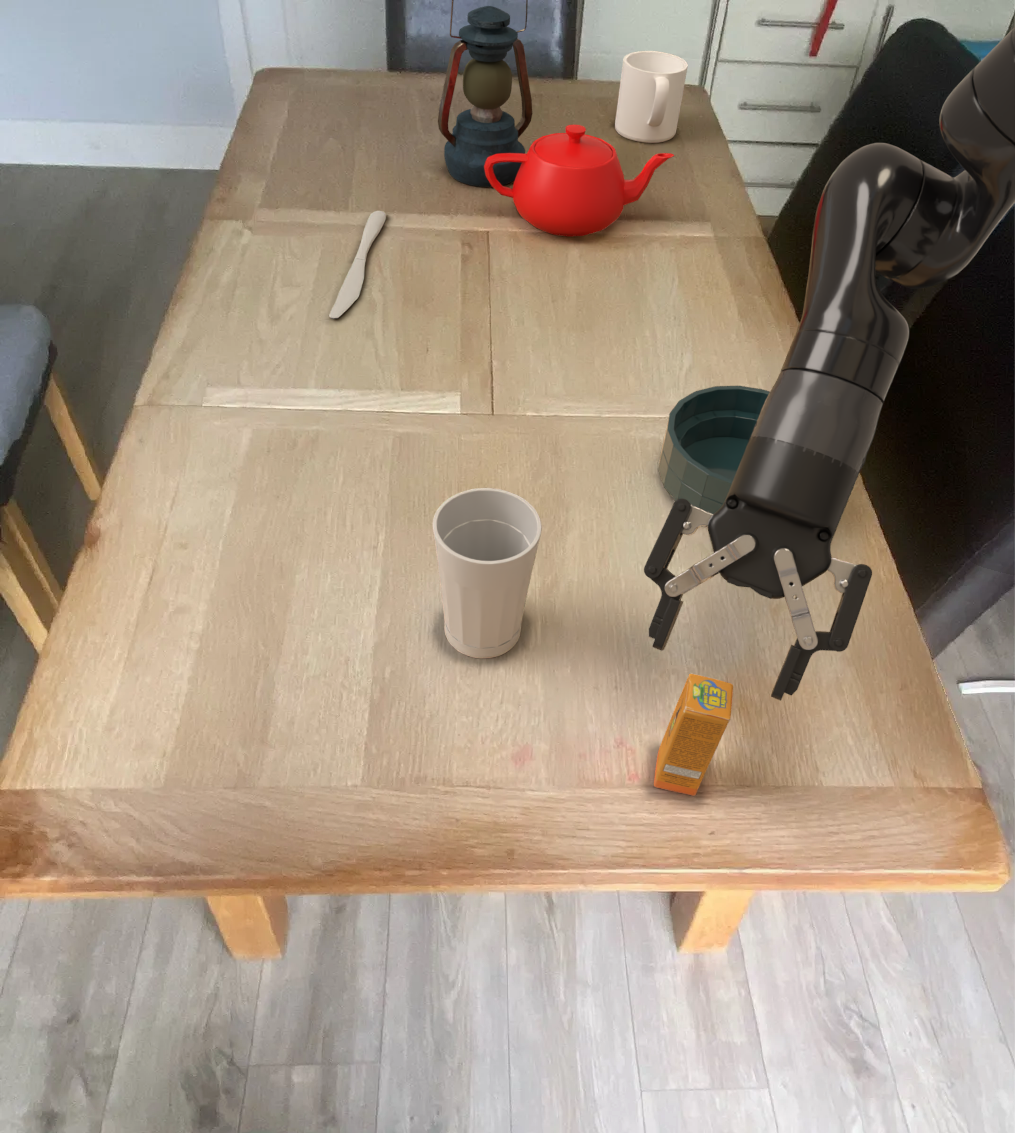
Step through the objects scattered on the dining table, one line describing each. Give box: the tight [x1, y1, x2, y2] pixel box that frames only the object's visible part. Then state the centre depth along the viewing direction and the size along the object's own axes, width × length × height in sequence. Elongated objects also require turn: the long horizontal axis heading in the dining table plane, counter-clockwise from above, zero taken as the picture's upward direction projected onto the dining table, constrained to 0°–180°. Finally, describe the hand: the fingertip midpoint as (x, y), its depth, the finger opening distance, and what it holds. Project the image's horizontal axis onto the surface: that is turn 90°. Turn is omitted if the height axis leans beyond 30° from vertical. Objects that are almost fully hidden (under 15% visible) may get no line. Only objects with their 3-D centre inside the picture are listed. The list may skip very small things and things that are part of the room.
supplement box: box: [653, 673, 734, 797], centre depth 63 cm, size 3×3×10 cm
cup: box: [432, 487, 543, 659], centre depth 70 cm, size 8×8×12 cm
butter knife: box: [328, 210, 387, 320], centre depth 114 cm, size 1×27×3 cm
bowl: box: [657, 385, 771, 514], centre depth 87 cm, size 15×15×6 cm
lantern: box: [437, 0, 534, 188], centre depth 121 cm, size 14×12×35 cm
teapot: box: [484, 124, 675, 238], centre depth 121 cm, size 25×16×12 cm, turn 90°
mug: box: [614, 50, 689, 144], centre depth 143 cm, size 13×10×10 cm
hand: (716, 672), depth 62 cm, fingers open, 8 cm apart
